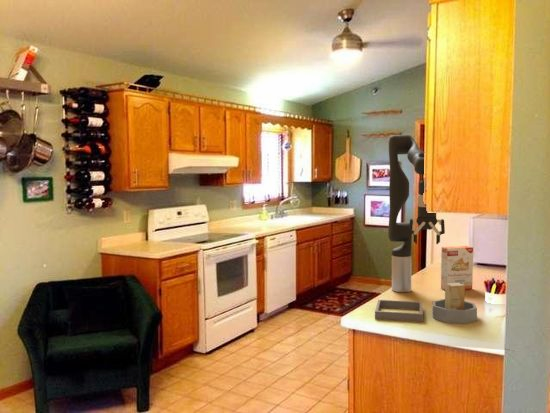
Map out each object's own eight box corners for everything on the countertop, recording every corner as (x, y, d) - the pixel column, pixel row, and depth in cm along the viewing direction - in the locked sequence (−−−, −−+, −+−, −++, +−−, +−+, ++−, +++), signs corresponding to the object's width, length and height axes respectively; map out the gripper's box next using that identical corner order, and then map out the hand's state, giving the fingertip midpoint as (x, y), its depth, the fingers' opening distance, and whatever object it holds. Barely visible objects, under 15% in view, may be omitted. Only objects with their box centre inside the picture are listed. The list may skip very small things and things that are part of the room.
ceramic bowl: (431, 310, 197) (431, 298, 197) (473, 312, 192) (473, 300, 192) (433, 321, 182) (433, 309, 181) (478, 324, 177) (478, 311, 177)
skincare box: (450, 316, 184) (450, 286, 183) (444, 313, 188) (444, 283, 188) (465, 315, 186) (465, 284, 185) (458, 312, 190) (458, 282, 189)
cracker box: (447, 291, 227) (447, 248, 226) (440, 288, 233) (440, 246, 232) (473, 289, 230) (473, 246, 229) (466, 286, 236) (466, 245, 235)
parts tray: (378, 306, 204) (378, 299, 204) (421, 309, 199) (421, 302, 199) (374, 318, 187) (374, 311, 187) (422, 322, 182) (422, 314, 182)
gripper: (444, 204, 200) (443, 242, 201) (409, 204, 203) (408, 241, 205) (445, 206, 192) (445, 245, 194) (409, 206, 196) (409, 244, 198)
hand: (426, 243), depth 200 cm, fingers open, 8 cm apart
